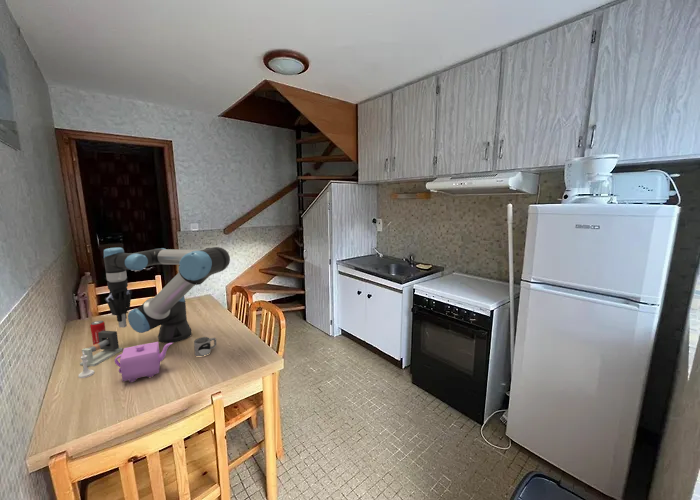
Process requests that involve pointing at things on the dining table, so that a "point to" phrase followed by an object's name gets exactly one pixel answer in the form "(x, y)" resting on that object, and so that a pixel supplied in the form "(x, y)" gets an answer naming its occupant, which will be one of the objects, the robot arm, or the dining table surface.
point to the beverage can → (96, 330)
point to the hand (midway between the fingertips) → (122, 326)
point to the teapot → (140, 361)
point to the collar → (113, 339)
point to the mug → (203, 346)
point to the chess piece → (85, 368)
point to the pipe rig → (101, 355)
